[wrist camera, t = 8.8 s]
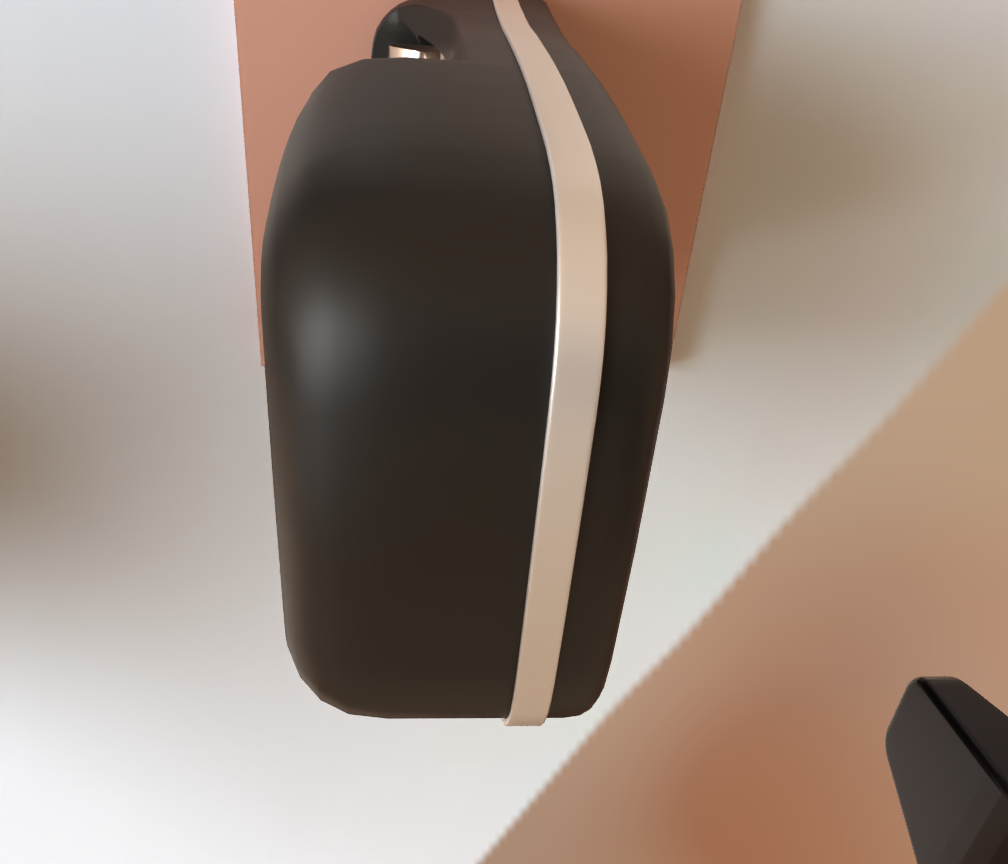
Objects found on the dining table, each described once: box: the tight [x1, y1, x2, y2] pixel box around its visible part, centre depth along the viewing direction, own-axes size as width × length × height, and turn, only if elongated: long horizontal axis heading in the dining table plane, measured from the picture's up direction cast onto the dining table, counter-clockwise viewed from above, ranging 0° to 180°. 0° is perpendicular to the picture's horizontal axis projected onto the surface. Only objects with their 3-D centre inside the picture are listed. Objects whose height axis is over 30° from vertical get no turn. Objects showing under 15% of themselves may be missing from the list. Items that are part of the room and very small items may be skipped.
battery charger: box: [260, 0, 675, 726], centre depth 13 cm, size 7×4×11 cm, turn 176°
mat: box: [234, 0, 742, 366], centre depth 19 cm, size 9×9×1 cm
